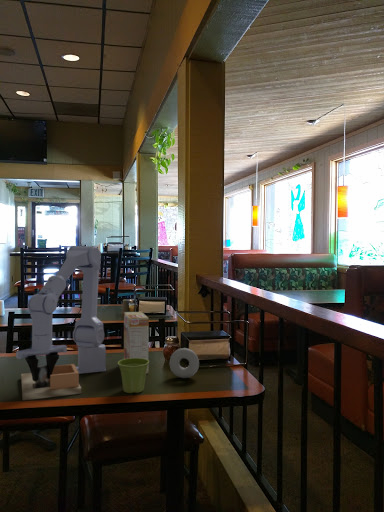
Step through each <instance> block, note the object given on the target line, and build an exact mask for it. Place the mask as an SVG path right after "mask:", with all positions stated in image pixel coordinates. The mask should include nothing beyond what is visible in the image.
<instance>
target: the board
mask: <svg viewBox="0 0 384 512" xmlns="http://www.w3.org/2000/svg"><path fill="white" fill-rule="evenodd" d="M20 375H21V376H20V377H21V379H20V380H21V396H22V397H21V398H22V401H30V400H38V399H46V398H53V397H62V396H63V397H64V396H70V395H71V396H72V395H78V394H82V386H81V385H80V383H79V386H77V387H69V388H60V389H51V390H50V380H48V386H47V387H45V388H36V387H35V381H33V379H32V374H31V372H27V373H21V374H20Z"/></svg>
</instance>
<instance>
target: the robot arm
mask: <svg viewBox="0 0 384 512" xmlns="http://www.w3.org/2000/svg"><path fill="white" fill-rule="evenodd" d="M65 254H66V255H65V257H66V258H65V260H64V262H63V264H62V265H61V267H60V269H59V270H58V272H57V273H56V275H51V276H49V277H48V279H47V281H46V282H45V284H43V286H42V288H41V289H40V290H39V291H38V293H35V294H33V295H32V296H31V297H30V298H29V300H28V303H27V308H28V311H29V312H30V318H31V322H32V323H31V324H32V325H31V336H32V337H31V348H26V349H22V350H17V351H15V358H16V359H17V360H21V359H24V360H25V361H26V363H27V364H28V365H27V366H28V367H29V370H30V373H31V374H32V379H33V381H37V367H38V365H39V359H38V358H37V357H38V356H39V357H40V356H45V361H46V365H48V379H50V375H52V372H53V369H54V366H56V364H57V362H58V360H59V359H60V354H59V353H63V354H64V353H67V351H68V346H67V345H66V344H61V345H53V313H54V312H55V311H56V310H57V308H58V302H59V299H60V296H61V295H62V293H64V291H65V290H66V288H67V280H68V279H69V278H70V276H72V274H73V273H74V272H75V271H76V269H78V270H80V271H81V272H82V273H83V274H82V275H83V278H82V279H83V280H82V294H81V295H82V297H81V299H82V300H81V314H80V315H81V316H80V318H79V319H78V320H76V322H75V324H74V329H73V331H72V339H73V341H74V343H76V344H75V345H76V346H77V366H75V367H76V369H77V370H78V372H79V375H80V374H89V373H90V374H91V373H99V372H106V371H107V369H106V368H107V367H106V365H107V364H106V363H107V355H106V354H107V353H106V352H107V351H106V350H107V349H106V345H105V344H103V342H104V339H105V331H104V323H103V321H101V320H100V319H99V318H98V317H97V316H98V294H99V293H98V292H99V280H100V279H99V277H100V270H101V261H102V260H101V259H102V252H101V250H100V249H99V248H98V247H97V246H96V245H90V246H87V245H84V246H83V245H80V246H79V245H78V246H77V245H76V246H75V245H71V246H70V247H69V248H68V250H67V251H66V253H65Z"/></svg>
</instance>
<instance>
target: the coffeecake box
mask: <svg viewBox="0 0 384 512" xmlns="http://www.w3.org/2000/svg"><path fill="white" fill-rule="evenodd" d="M149 323H150V322H149V317H148V316H147V315H146V314H145V313H143V312H142V311H124V312H123V359H129V358H143V359H147V360H149V335H150V334H149V329H150V327H149ZM147 374H149V365H148V366H147V369H146V375H147Z"/></svg>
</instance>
